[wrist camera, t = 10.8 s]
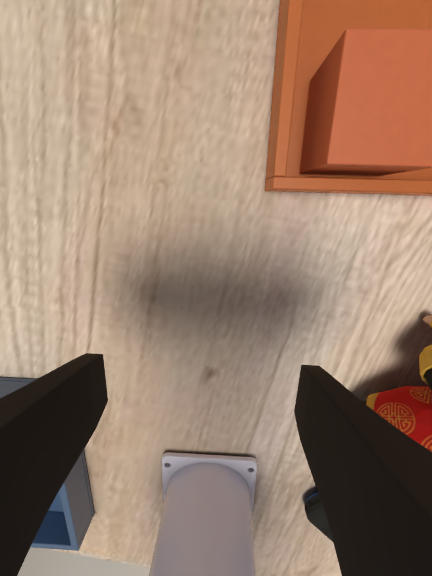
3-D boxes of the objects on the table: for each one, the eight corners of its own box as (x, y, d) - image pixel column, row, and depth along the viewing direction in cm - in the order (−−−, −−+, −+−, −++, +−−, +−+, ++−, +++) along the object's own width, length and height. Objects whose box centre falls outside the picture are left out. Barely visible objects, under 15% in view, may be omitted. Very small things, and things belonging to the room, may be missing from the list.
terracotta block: (378, 176, 15) (438, 166, 11) (298, 174, 15) (326, 164, 11) (397, 81, 14) (475, 28, 9) (309, 80, 14) (346, 27, 10)
